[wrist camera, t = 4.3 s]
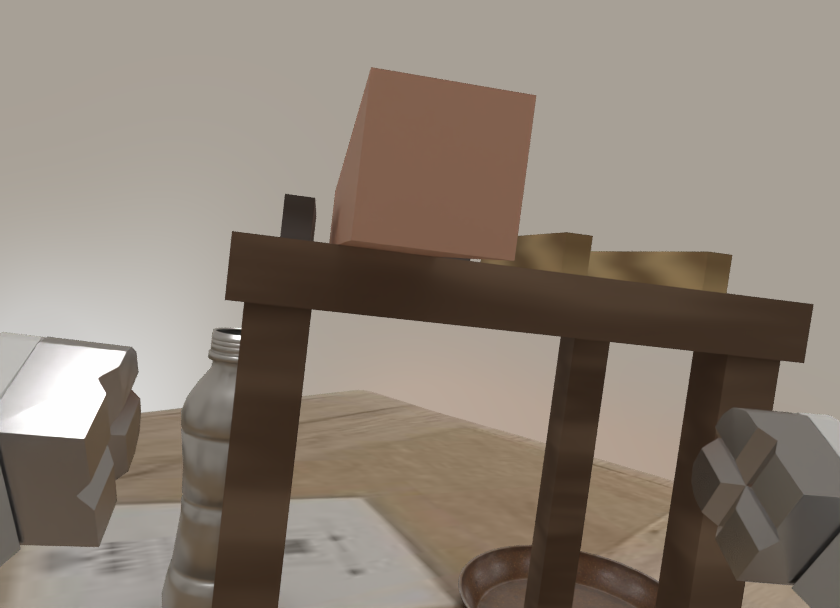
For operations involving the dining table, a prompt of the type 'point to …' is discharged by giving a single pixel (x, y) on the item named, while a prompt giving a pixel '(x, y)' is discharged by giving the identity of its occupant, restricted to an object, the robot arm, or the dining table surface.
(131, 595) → the dining table surface
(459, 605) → the dining table surface
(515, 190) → the terracotta bar
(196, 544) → the plastic bottle
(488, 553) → the plant saucer
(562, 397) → the walnut stool
